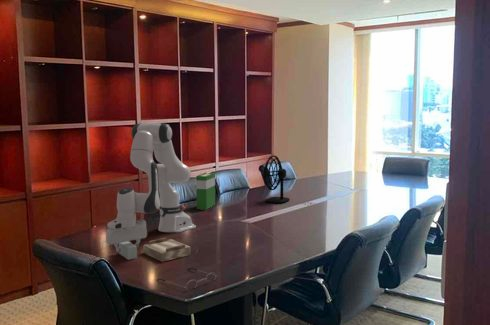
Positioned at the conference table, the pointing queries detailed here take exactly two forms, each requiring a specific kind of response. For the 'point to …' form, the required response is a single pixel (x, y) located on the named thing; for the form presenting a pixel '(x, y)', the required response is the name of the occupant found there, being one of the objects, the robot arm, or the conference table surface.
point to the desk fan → (280, 174)
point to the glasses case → (128, 250)
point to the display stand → (166, 249)
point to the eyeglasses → (191, 280)
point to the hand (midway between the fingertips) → (127, 249)
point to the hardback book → (205, 190)
